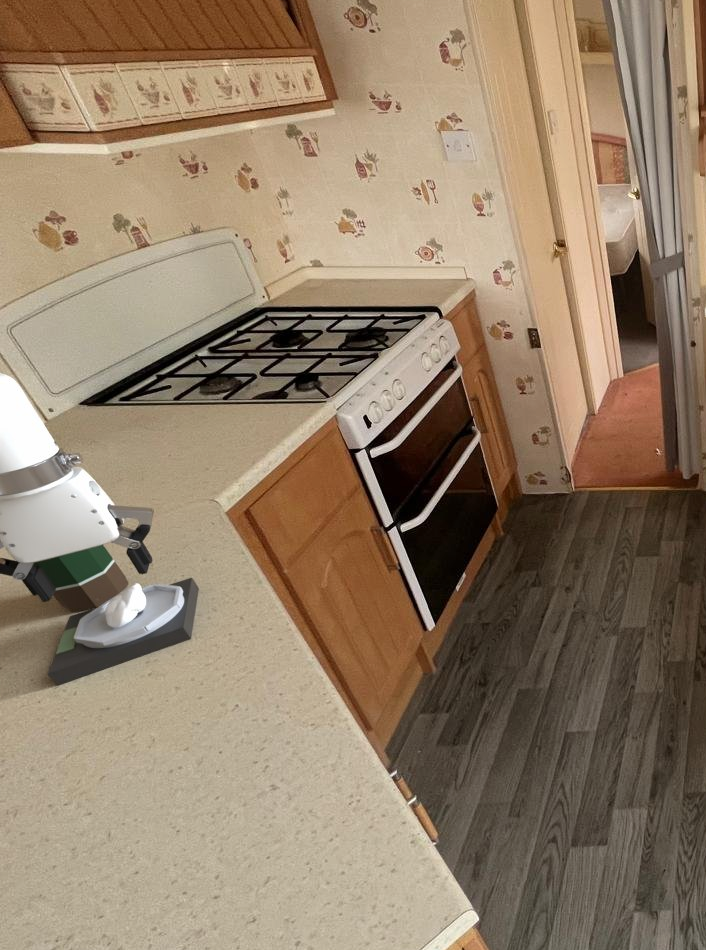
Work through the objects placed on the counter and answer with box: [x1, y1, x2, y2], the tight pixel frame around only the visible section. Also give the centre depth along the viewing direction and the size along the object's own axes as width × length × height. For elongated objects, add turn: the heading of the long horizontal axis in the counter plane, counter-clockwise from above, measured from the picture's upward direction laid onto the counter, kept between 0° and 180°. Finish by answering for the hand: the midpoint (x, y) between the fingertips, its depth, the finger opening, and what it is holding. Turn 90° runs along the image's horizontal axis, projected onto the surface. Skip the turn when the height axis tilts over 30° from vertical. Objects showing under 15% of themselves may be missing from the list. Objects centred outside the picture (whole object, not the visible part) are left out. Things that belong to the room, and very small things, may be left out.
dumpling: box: [97, 582, 146, 628], centre depth 94 cm, size 7×5×4 cm
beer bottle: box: [33, 544, 129, 613], centre depth 97 cm, size 8×8×24 cm
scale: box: [46, 577, 200, 686], centre depth 95 cm, size 14×13×4 cm
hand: (99, 581), depth 91 cm, fingers open, 9 cm apart
